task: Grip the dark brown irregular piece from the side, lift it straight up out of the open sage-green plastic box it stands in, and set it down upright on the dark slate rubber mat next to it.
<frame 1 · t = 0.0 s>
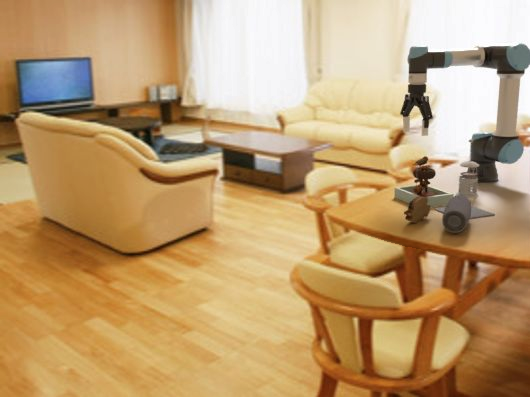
hand: (415, 133, 252), 28 cm above the table, tool pointing down, fingers open, 13 cm apart
storage box: (422, 200, 251), on the table
wooden carving: (416, 222, 222), on the table
dark brown irregular piece: (422, 201, 251), resting in storage box
bluetooth speaker: (456, 227, 214), on the table, touching slate mat
slate mat: (464, 212, 232), on the table
french press: (468, 195, 259), on the table
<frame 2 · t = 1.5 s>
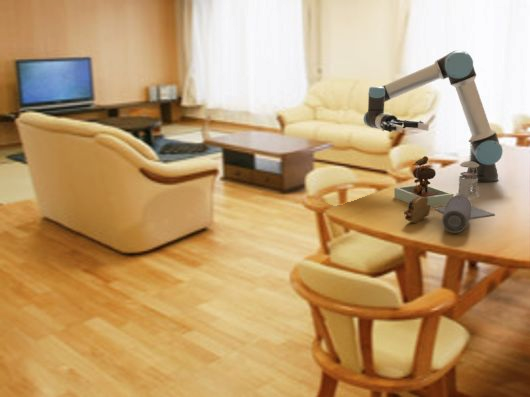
hand: (415, 128, 251), 30 cm above the table, tool horizontal, fingers open, 13 cm apart
nothing on the table moved.
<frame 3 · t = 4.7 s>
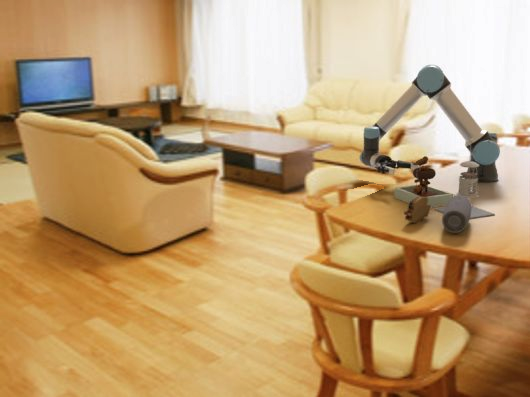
hand: (407, 170, 259), 11 cm above the table, tool horizontal, fingers open, 13 cm apart
nothing on the table moved.
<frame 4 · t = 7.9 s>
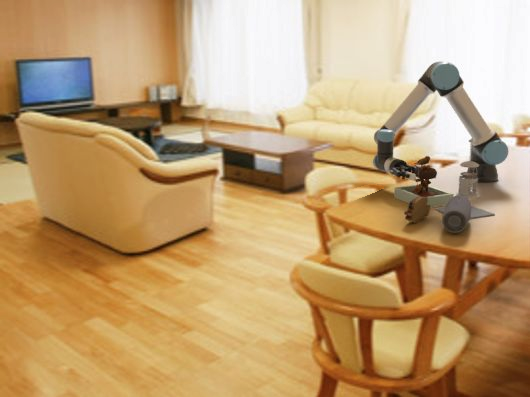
hand: (425, 176, 247), 11 cm above the table, tool horizontal, fingers closed on dark brown irregular piece, 10 cm apart
dark brown irregular piece: (422, 200, 251), resting in storage box, touching gripper
everything else where it was.
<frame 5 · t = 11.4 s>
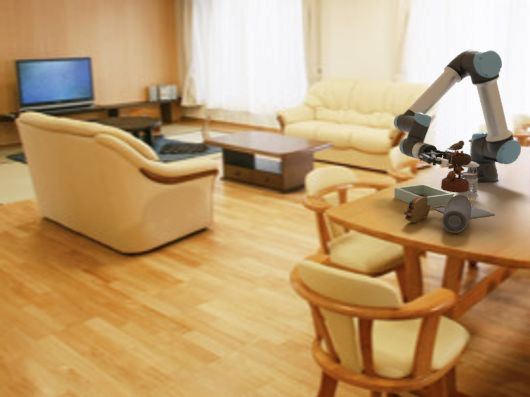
hand: (458, 162, 229), 20 cm above the table, tool horizontal, fingers closed on dark brown irregular piece, 10 cm apart
dark brown irregular piece: (455, 188, 233), point 9 cm above the table, touching gripper
everything else where it was.
when the fingers open (13 cm above the table, at t = 14.8 s): dark brown irregular piece drops 2 cm, resting on slate mat.
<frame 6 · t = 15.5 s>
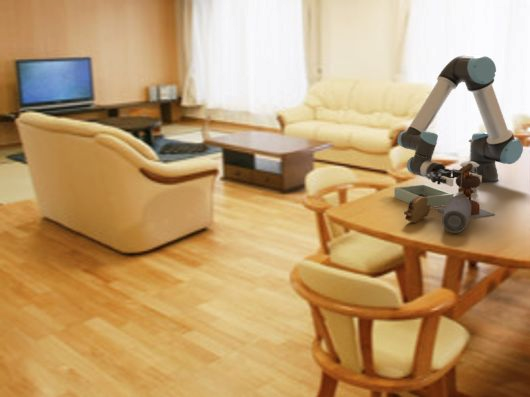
hand: (466, 180, 228), 13 cm above the table, tool horizontal, fingers open, 13 cm apart
dark brown irregular piece: (465, 211, 232), resting on slate mat
everything else where it was.
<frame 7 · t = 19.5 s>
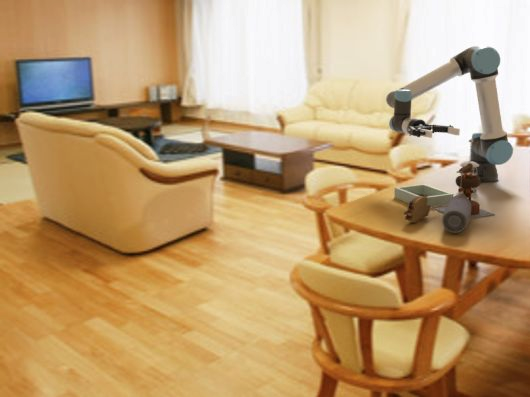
hand: (445, 133, 238), 30 cm above the table, tool horizontal, fingers open, 13 cm apart
nothing on the table moved.
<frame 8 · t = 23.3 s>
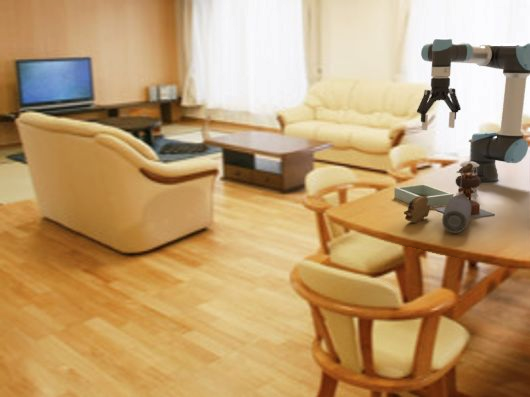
hand: (438, 128, 245), 31 cm above the table, tool pointing down, fingers open, 13 cm apart
nothing on the table moved.
at the end: dark brown irregular piece inside the target area (0.6 cm from its centre), resting on slate mat; dark brown irregular piece tilted 0°; the gripper is holding nothing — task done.
